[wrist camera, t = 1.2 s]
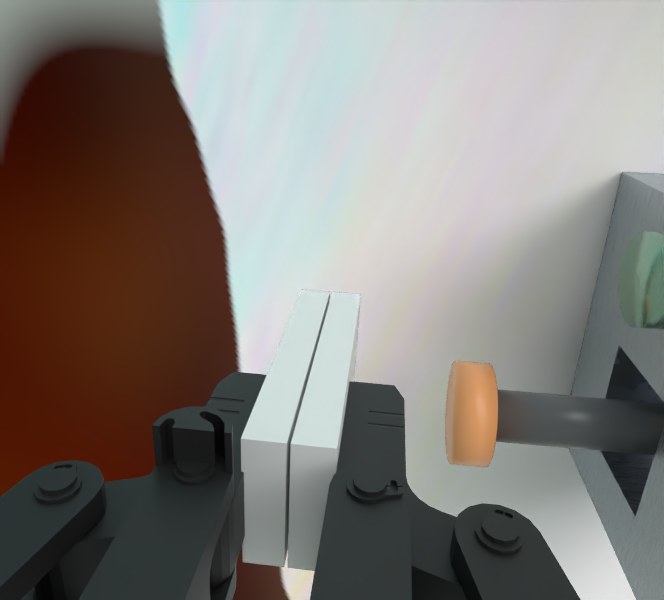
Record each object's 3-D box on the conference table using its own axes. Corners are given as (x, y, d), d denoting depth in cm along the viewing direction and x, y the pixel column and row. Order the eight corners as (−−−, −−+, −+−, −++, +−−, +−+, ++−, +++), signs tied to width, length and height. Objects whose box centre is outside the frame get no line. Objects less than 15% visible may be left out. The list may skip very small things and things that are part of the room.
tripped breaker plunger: (442, 424, 38) (451, 486, 33) (453, 343, 36) (464, 395, 30) (646, 441, 37) (690, 508, 32) (671, 359, 35) (723, 417, 29)
